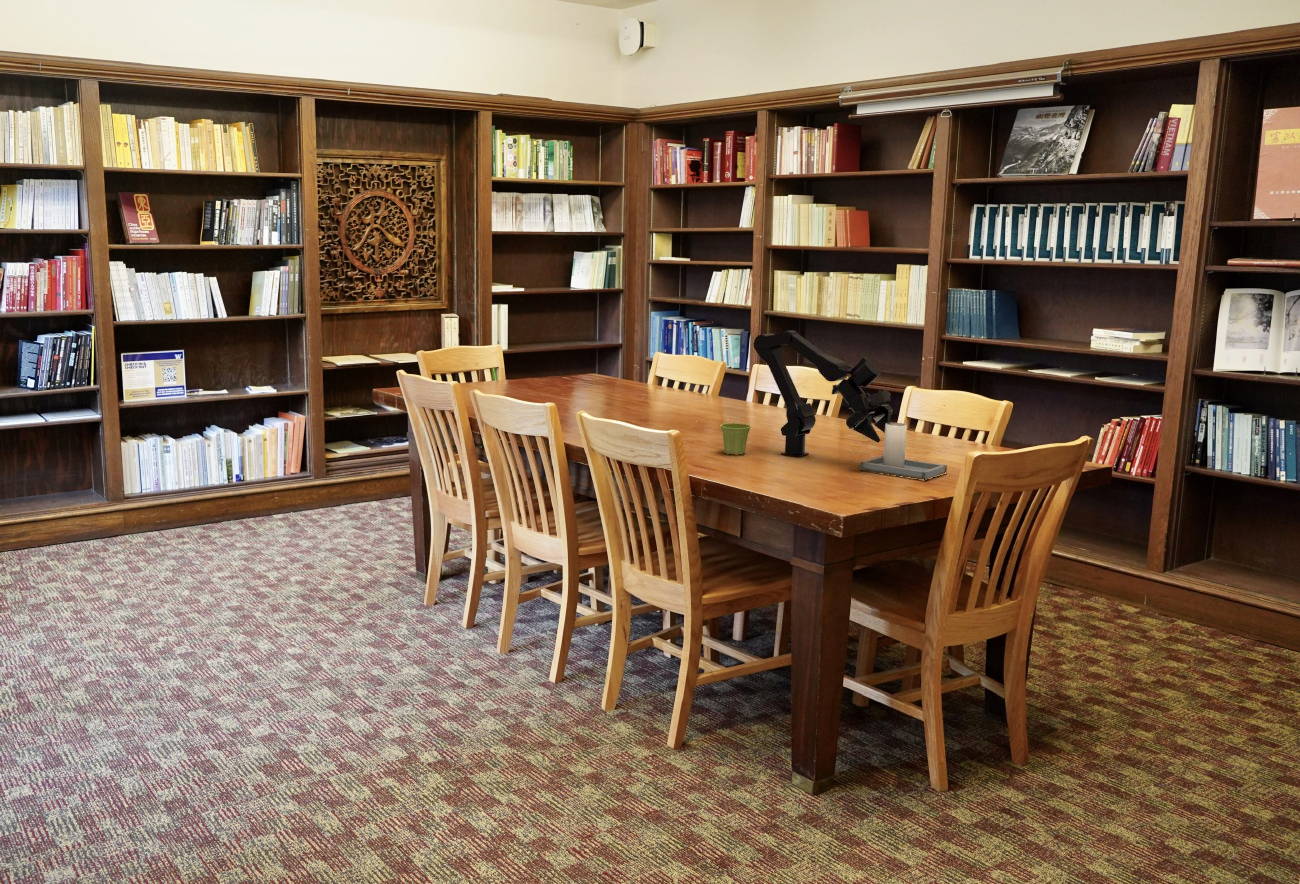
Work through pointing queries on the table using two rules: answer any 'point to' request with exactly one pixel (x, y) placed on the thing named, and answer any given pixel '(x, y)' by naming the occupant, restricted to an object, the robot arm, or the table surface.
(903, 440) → the pencil cup
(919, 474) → the tray
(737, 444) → the plant pot
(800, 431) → the robot arm
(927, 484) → the table surface
